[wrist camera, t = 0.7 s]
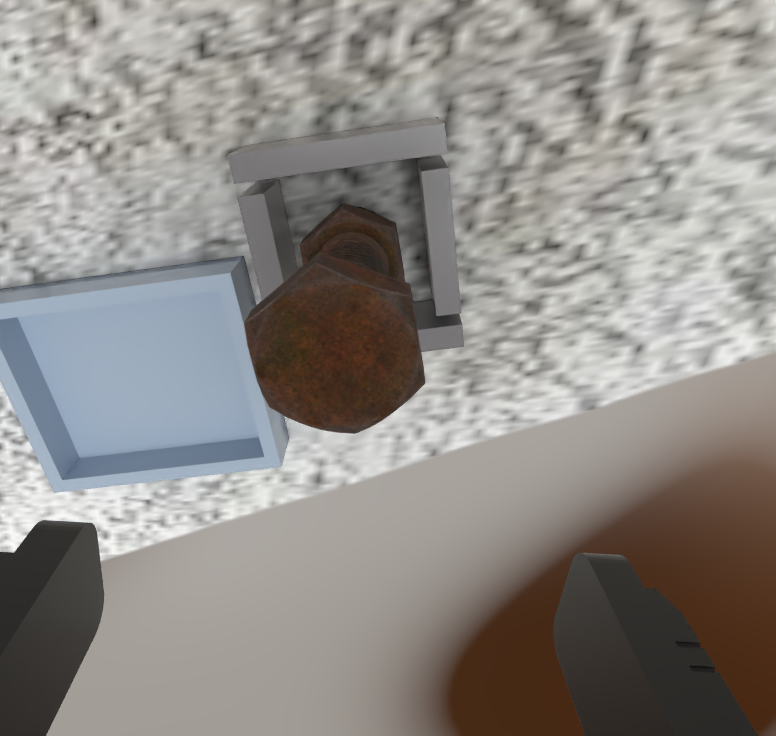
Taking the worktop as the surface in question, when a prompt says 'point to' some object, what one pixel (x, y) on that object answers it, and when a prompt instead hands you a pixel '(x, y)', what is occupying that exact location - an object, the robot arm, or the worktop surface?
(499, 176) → the worktop surface
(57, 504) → the worktop surface
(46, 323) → the parts tray
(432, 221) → the holder
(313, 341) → the bolt
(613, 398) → the worktop surface
